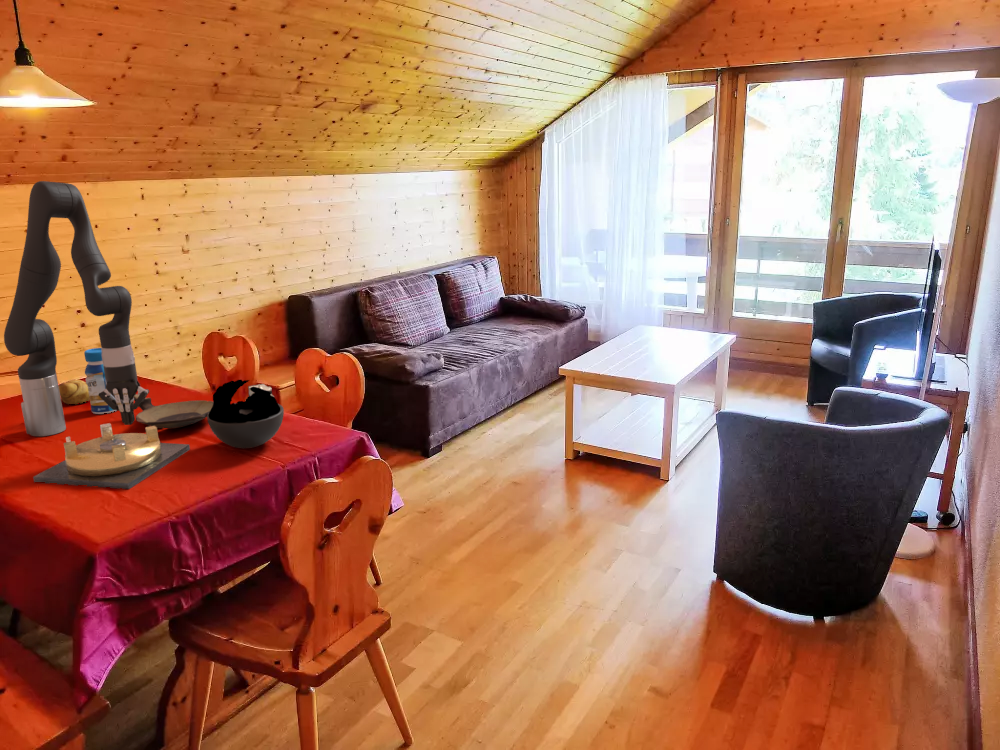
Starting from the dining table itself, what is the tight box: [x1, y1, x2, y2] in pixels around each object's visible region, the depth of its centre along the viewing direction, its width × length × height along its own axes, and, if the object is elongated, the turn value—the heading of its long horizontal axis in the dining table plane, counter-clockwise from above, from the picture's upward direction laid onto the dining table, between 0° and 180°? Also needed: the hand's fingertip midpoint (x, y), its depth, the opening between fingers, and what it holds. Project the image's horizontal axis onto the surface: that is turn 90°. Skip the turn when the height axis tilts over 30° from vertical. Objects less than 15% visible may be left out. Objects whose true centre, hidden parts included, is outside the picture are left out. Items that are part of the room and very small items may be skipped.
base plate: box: [32, 436, 191, 490], centre depth 191 cm, size 26×26×8 cm
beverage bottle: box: [84, 347, 118, 415], centre depth 232 cm, size 8×8×20 cm
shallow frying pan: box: [134, 393, 214, 429], centre depth 223 cm, size 22×30×8 cm
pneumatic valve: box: [247, 383, 276, 399], centre depth 221 cm, size 6×12×12 cm, turn 32°
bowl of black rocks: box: [206, 379, 285, 449], centre depth 202 cm, size 20×20×19 cm
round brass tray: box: [63, 422, 161, 476], centre depth 190 cm, size 22×22×6 cm
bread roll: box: [58, 379, 90, 405], centre depth 244 cm, size 13×10×8 cm
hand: (129, 423), depth 199 cm, fingers closed
